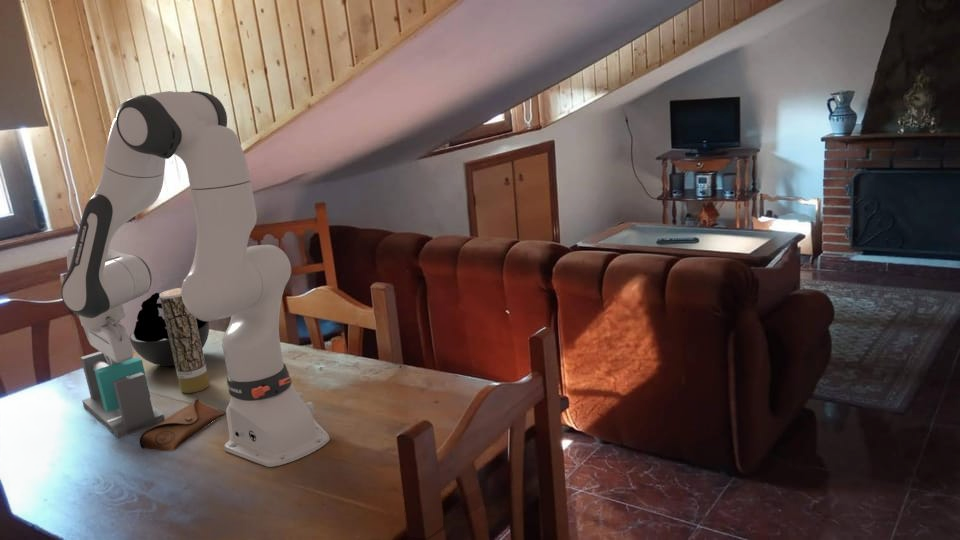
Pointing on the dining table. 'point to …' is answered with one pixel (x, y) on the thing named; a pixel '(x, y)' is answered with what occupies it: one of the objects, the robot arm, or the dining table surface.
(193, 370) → the log-textured cylinder
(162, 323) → the bowl of black rocks
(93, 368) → the pipe stand
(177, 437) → the sunglasses case
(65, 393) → the dining table surface
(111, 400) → the teal upright slab
